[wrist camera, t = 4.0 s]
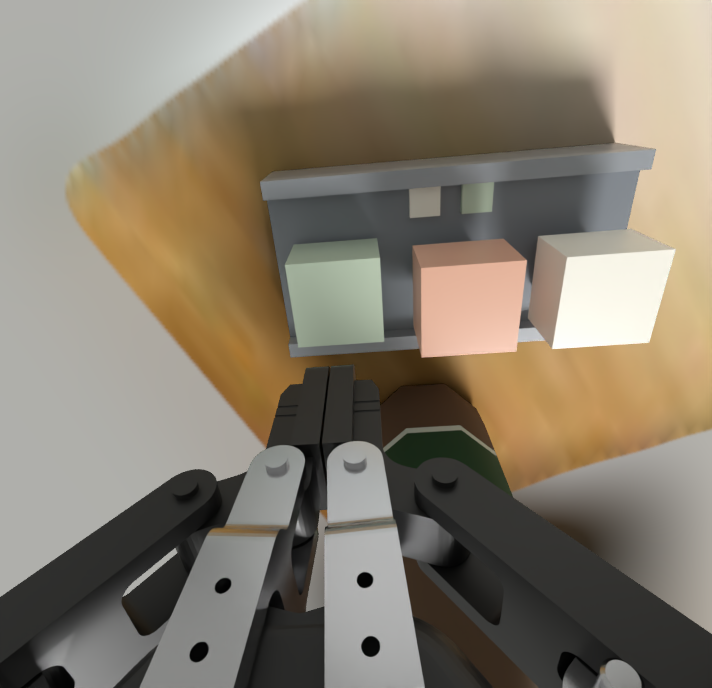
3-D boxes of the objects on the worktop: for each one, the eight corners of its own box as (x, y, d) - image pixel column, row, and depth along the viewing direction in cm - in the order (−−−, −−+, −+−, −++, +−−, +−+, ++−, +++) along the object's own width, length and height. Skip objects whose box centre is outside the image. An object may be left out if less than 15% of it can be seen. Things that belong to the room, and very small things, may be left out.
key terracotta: (503, 238, 19) (526, 260, 16) (496, 320, 21) (516, 351, 18) (412, 245, 19) (421, 268, 17) (413, 325, 21) (421, 357, 19)
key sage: (376, 238, 21) (379, 257, 18) (381, 313, 23) (384, 341, 20) (293, 244, 21) (284, 264, 18) (304, 319, 23) (298, 347, 20)
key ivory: (631, 228, 19) (675, 249, 16) (612, 312, 21) (649, 342, 18) (538, 235, 19) (567, 257, 16) (527, 318, 21) (552, 348, 18)
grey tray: (615, 142, 21) (682, 153, 17) (583, 309, 26) (629, 352, 21) (272, 171, 22) (251, 188, 18) (297, 329, 26) (286, 374, 22)
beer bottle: (450, 476, 32) (625, 1168, 11) (351, 451, 31) (341, 1174, 10) (499, 395, 29) (886, 1188, 8) (389, 364, 28) (495, 1201, 7)
